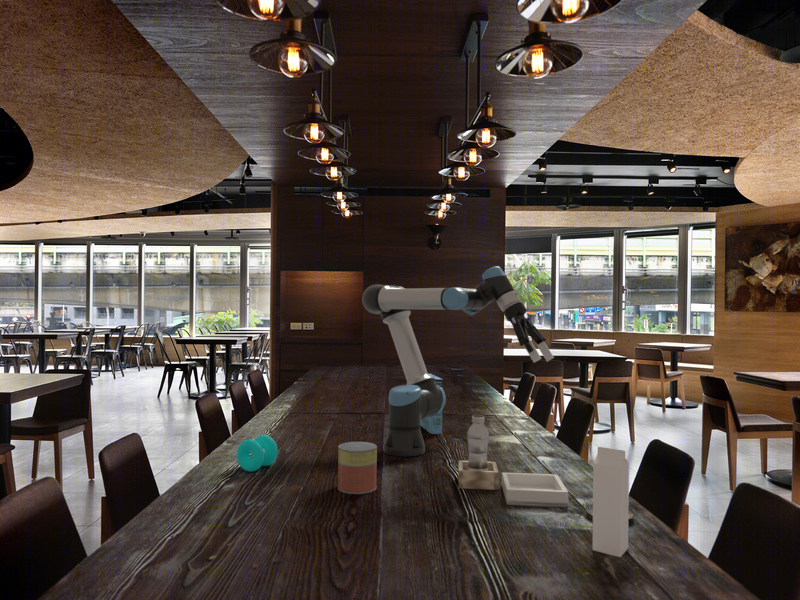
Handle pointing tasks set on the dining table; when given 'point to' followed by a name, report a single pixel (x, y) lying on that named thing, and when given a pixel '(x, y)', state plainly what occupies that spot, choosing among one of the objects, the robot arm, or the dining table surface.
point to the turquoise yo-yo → (257, 453)
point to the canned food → (357, 467)
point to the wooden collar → (478, 477)
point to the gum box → (434, 422)
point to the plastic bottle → (477, 444)
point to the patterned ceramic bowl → (590, 513)
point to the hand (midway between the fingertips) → (544, 360)
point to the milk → (610, 501)
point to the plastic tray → (534, 490)
